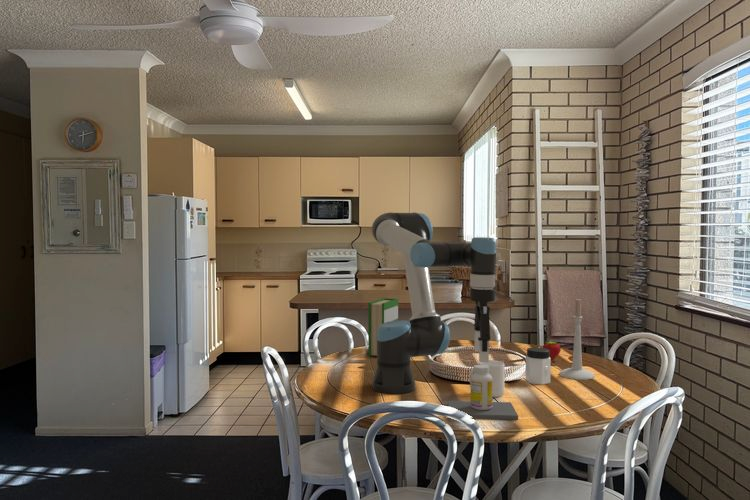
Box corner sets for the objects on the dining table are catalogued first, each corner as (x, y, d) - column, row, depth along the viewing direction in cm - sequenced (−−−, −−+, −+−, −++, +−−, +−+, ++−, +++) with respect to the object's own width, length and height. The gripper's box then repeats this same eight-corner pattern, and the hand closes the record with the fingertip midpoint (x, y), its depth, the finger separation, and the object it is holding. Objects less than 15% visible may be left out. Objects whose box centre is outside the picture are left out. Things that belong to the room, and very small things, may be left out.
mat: (450, 417, 170) (450, 413, 170) (447, 404, 183) (447, 400, 183) (518, 419, 168) (518, 415, 168) (510, 406, 181) (510, 402, 181)
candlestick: (570, 380, 212) (571, 300, 211) (553, 372, 225) (554, 296, 224) (601, 379, 215) (603, 299, 213) (582, 370, 227) (584, 295, 226)
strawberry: (561, 363, 240) (562, 339, 240) (543, 362, 241) (543, 338, 241) (559, 359, 246) (559, 336, 246) (541, 359, 247) (541, 336, 247)
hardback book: (383, 358, 248) (384, 303, 247) (368, 356, 251) (368, 302, 250) (397, 350, 265) (398, 298, 264) (383, 349, 267) (383, 298, 267)
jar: (538, 386, 205) (538, 352, 204) (521, 380, 212) (521, 348, 211) (554, 382, 210) (555, 350, 209) (537, 377, 217) (537, 346, 216)
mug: (470, 388, 201) (470, 358, 201) (504, 391, 198) (505, 360, 197) (467, 395, 193) (467, 364, 192) (503, 398, 190) (503, 366, 189)
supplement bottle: (489, 404, 179) (489, 363, 179) (494, 410, 173) (495, 368, 172) (468, 404, 179) (468, 363, 179) (473, 411, 172) (473, 369, 172)
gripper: (501, 293, 161) (499, 367, 163) (489, 283, 186) (488, 347, 188) (474, 292, 162) (473, 366, 163) (466, 283, 187) (465, 346, 188)
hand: (481, 356), depth 175 cm, fingers open, 13 cm apart
